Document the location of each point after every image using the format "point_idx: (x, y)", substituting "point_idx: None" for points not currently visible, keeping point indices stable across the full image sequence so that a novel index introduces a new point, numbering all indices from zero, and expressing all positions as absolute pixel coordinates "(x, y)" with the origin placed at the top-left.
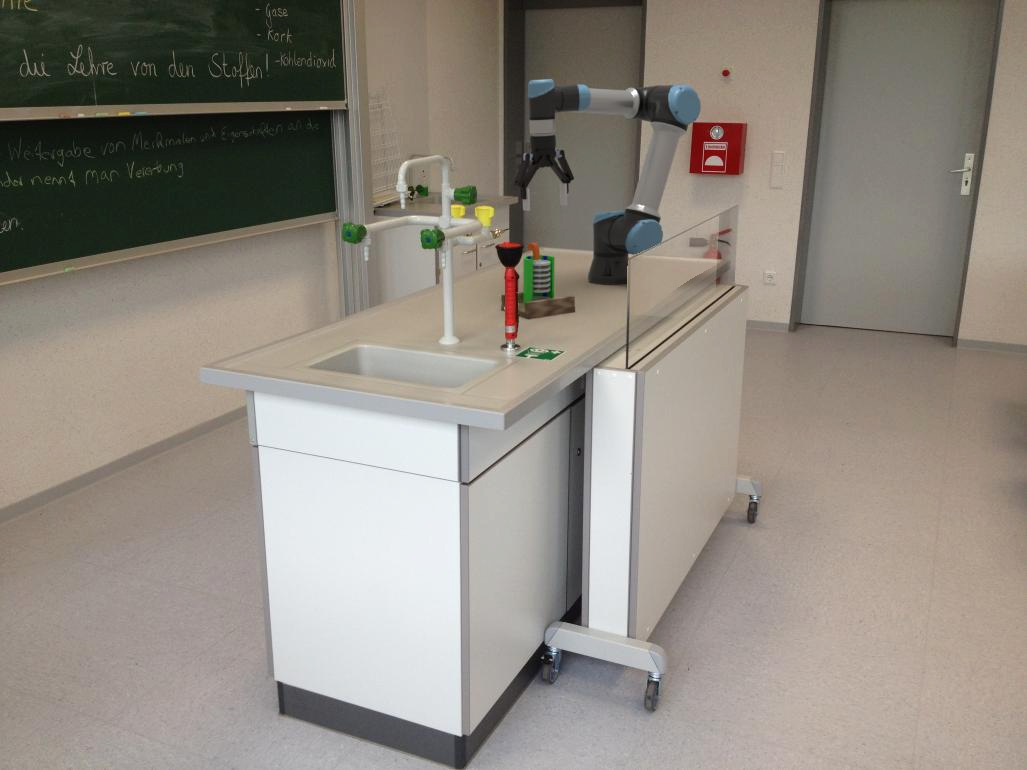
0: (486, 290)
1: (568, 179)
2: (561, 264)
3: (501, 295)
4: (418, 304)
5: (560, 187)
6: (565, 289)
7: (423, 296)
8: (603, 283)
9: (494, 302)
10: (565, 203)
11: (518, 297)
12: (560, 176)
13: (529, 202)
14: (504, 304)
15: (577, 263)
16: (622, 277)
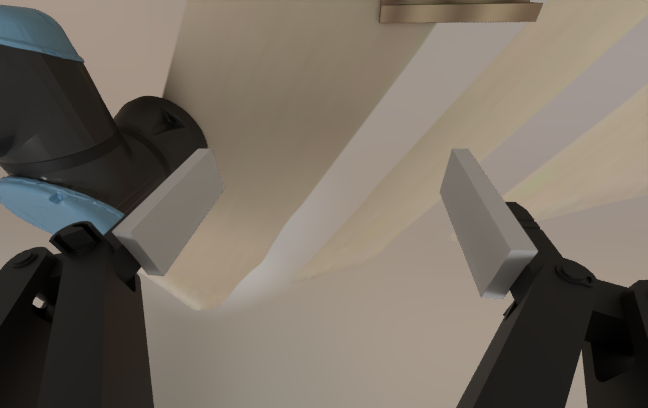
0: (388, 196)
1: (68, 257)
2: (206, 255)
3: (535, 20)
4: (565, 178)
5: (174, 245)
6: (271, 123)
7: None
8: (189, 116)
9: (457, 105)
10: (203, 154)
11: (486, 3)
12: (120, 304)
13: (471, 175)
14: (529, 2)
15: (184, 249)
16: (145, 100)
